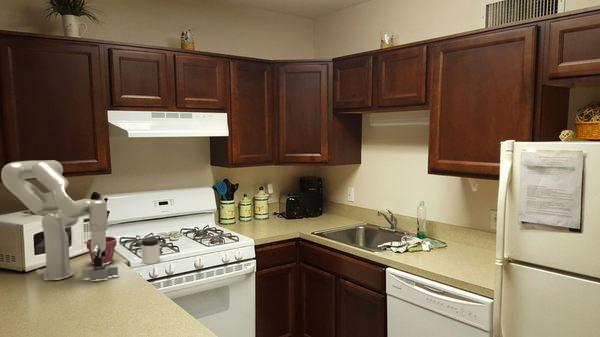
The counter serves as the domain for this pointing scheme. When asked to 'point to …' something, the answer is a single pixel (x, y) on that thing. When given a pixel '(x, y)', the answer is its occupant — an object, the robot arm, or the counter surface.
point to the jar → (150, 250)
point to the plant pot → (109, 249)
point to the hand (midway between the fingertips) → (99, 263)
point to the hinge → (99, 272)
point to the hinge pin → (102, 263)
